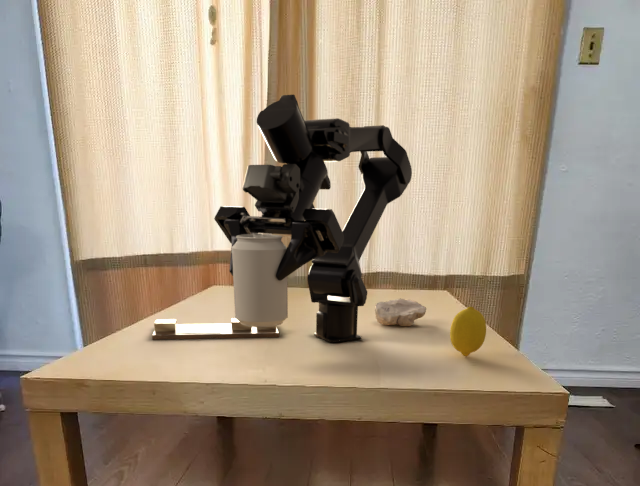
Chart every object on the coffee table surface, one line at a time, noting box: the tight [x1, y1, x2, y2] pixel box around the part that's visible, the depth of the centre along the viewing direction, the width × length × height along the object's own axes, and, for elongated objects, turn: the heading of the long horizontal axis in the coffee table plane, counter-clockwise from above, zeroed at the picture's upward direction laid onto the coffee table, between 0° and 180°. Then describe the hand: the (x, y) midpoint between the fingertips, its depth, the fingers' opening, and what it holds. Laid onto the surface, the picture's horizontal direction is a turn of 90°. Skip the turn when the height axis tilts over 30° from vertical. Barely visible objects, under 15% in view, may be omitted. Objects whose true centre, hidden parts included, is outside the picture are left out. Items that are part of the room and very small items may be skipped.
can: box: [231, 233, 289, 327], centre depth 80 cm, size 8×8×12 cm
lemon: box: [449, 305, 487, 357], centre depth 91 cm, size 6×6×8 cm
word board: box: [151, 317, 280, 341], centre depth 105 cm, size 22×9×2 cm, turn 99°
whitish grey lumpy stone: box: [374, 298, 427, 327], centre depth 115 cm, size 9×6×10 cm
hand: (254, 276), depth 78 cm, fingers closed on can, 7 cm apart
